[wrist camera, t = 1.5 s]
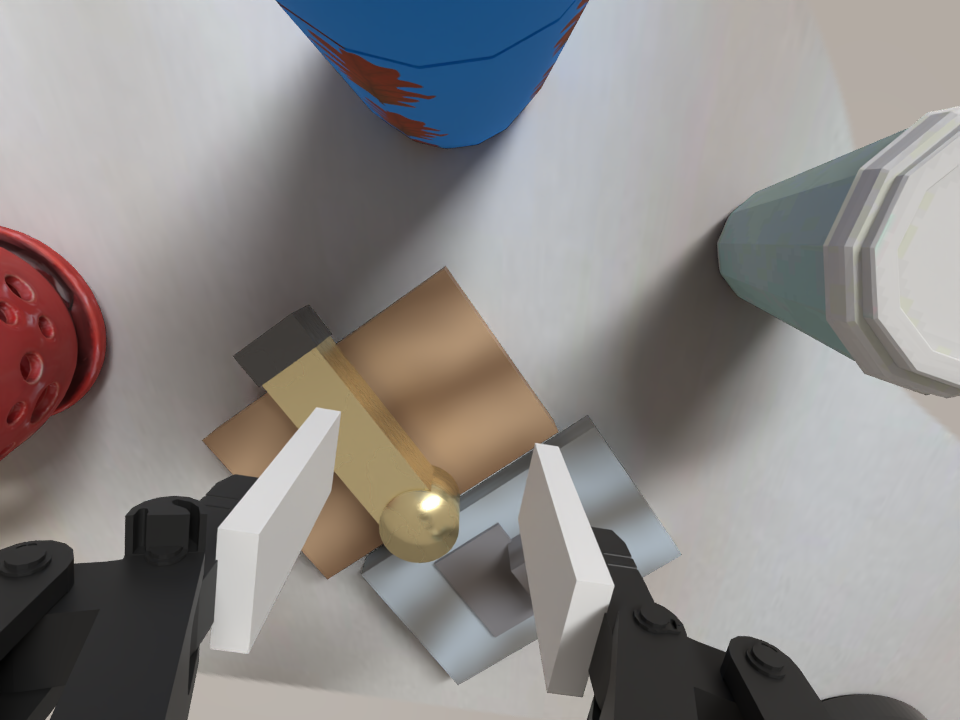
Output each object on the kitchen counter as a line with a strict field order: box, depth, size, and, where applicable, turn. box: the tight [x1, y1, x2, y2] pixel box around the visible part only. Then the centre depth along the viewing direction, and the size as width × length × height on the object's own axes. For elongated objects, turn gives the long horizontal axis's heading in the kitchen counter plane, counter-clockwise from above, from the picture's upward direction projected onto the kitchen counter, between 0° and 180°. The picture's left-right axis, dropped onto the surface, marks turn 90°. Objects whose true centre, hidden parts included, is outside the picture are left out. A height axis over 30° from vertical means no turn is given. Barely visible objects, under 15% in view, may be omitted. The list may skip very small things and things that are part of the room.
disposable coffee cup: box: [717, 106, 960, 398], centre depth 24 cm, size 11×11×15 cm
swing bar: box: [233, 305, 460, 563], centre depth 30 cm, size 15×4×3 cm, turn 35°
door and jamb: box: [202, 266, 682, 685], centre depth 33 cm, size 24×20×5 cm
